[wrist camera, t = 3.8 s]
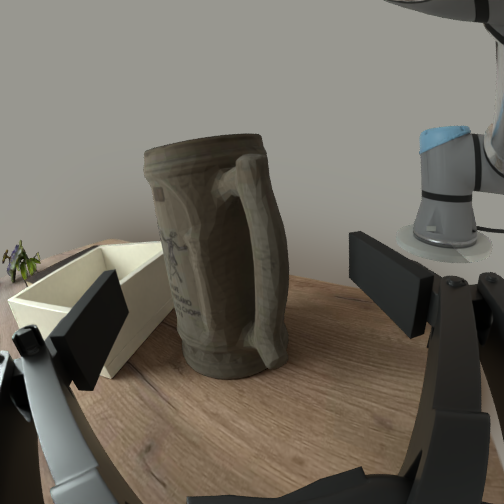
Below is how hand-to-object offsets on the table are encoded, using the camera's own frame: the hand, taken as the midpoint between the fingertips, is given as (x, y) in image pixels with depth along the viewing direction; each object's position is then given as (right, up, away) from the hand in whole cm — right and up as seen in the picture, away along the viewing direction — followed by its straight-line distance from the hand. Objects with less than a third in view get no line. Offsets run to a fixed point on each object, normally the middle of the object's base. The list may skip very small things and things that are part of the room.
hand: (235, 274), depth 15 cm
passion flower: (-59, -6, +43) cm, 73 cm away
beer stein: (+1, -9, +11) cm, 14 cm away
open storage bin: (-19, -8, +20) cm, 29 cm away
